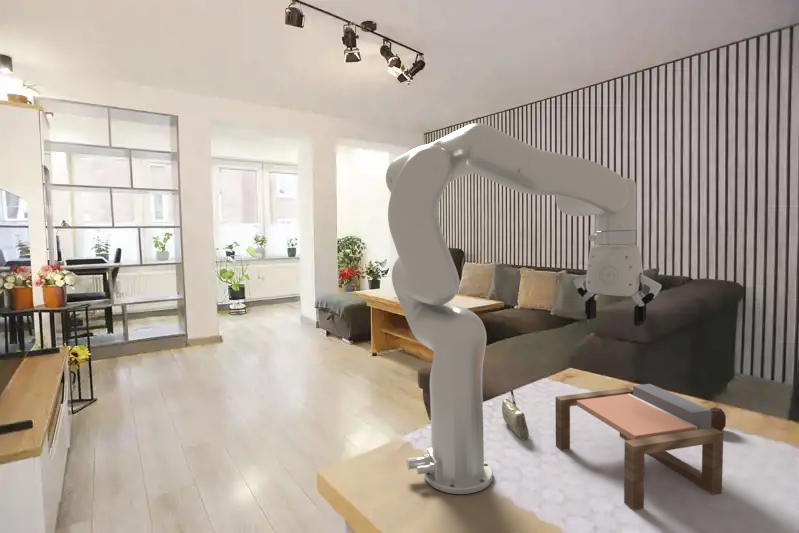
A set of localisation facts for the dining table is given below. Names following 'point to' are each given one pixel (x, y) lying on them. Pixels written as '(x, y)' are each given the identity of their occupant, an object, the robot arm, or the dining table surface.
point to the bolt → (718, 419)
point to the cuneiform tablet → (514, 417)
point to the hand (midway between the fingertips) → (614, 321)
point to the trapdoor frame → (652, 451)
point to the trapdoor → (648, 412)
